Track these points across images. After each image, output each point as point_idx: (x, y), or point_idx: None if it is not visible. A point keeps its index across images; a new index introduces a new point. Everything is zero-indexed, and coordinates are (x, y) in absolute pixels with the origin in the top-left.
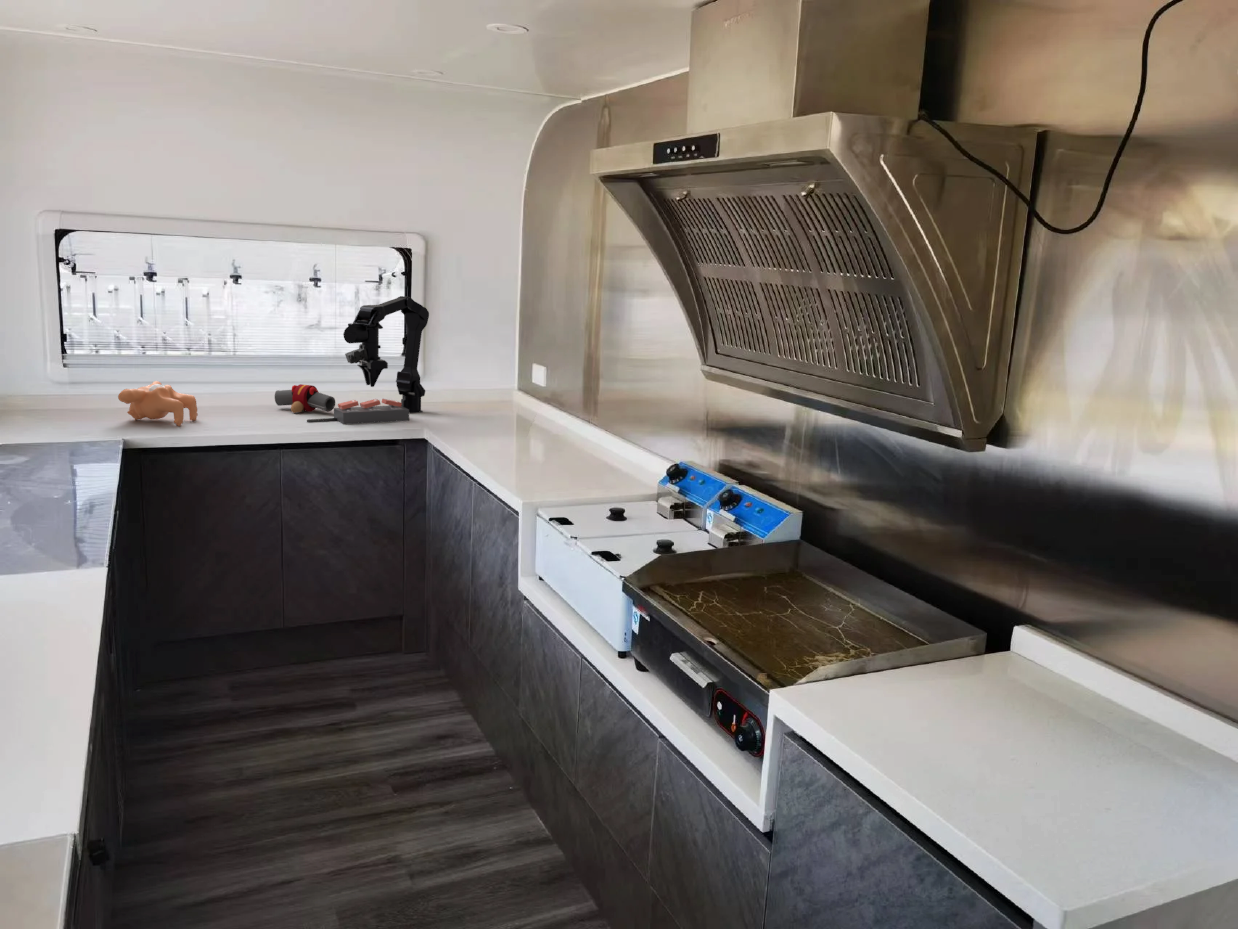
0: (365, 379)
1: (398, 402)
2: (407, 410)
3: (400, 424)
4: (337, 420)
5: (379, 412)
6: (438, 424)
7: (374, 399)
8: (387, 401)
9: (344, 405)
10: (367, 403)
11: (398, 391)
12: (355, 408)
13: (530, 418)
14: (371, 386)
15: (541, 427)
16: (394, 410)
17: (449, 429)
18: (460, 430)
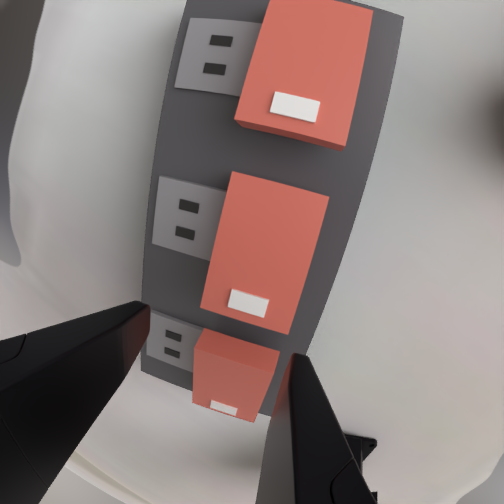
0: (302, 401)
1: (194, 394)
2: (143, 362)
3: (101, 255)
4: None
5: (151, 221)
6: None
7: (283, 318)
8: (195, 348)
9: (267, 9)
10: (234, 211)
11: (376, 501)
12: None
13: (120, 492)
14: (135, 305)
15: None
16: None
17: (18, 318)
18: (9, 327)
